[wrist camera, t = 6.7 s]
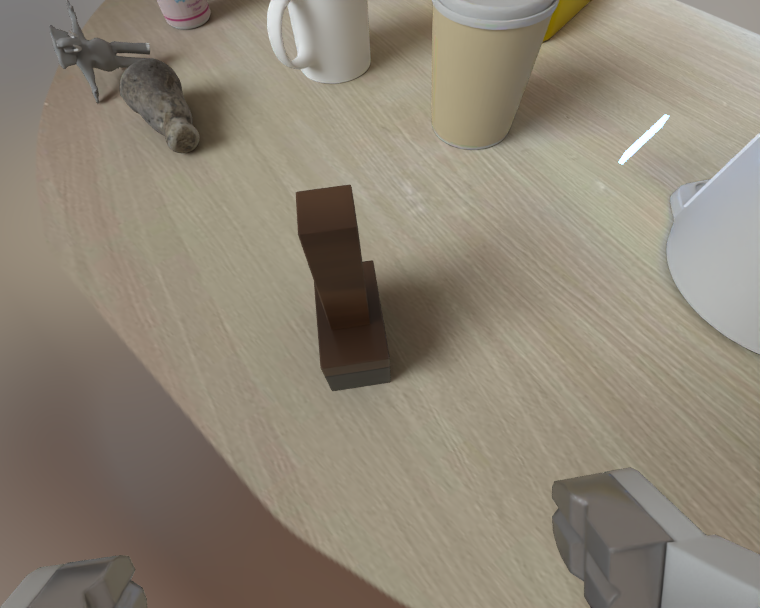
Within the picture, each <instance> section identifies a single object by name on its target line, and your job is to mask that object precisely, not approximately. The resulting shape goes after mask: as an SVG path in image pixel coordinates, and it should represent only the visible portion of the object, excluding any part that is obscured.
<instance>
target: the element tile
mask: <svg viewBox="0 0 760 608" xmlns="http://www.w3.org/2000/svg"><path fill="white" fill-rule="evenodd" d="M590 1H591V0H559V3H558V5H557V7H556V9H555V11H554V12H553V13H552V16H551V19H550V22H549V25H548V28H547V31H546V34H545V36H544V39H543V41H546V40H548V39H550V38H551V37H552V36H553V35H554V34H555V33H556V32H558V31H559V30H560V29H561V28H562V27H563V26H564V25H565V24H566V23H567V22H568V21H569V20H570V19H572V18H573V17H574V16H575V15H576V14H577V13H578V12H579V11H580V10H581V9H582V8H583V7H584V6H585V5H587V4H588V3H589V2H590Z"/></svg>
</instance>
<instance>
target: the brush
mask: <svg viewBox="0 0 760 608" xmlns="http://www.w3.org/2000/svg"><path fill="white" fill-rule="evenodd" d="M296 206H297V224H298V236H299V239H300V241H301V244H302V247H303V250H304V253H305V256H306V259H307V262H308V265H309V268H310V270H311V273H312V276H313V279H314V288H315V301H316V314H317V327H318V340H319V353H320V366H321V370H322V372H323V374H324V376H325V378H326V380H327V382H328V384H329V386H330V388H331V390H332V391H337V390H343V389H350V388H356V387H363V386H369V385H375V384H382V383H388V382H391V377H390V357H389V351H388V345H387V339H386V333H385V327H384V321H383V315H382V310H381V304H380V298H379V292H378V286H377V280H376V274H375V268H374V263H373V261H365V262H362V256H361V248H360V241H359V233H358V226H357V219H356V213H355V206H354V200H353V193H352V187H351V185H343V186H336V187H329V188H321V189H314V190H306V191H299V192H296Z"/></svg>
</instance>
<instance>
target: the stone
mask: <svg viewBox="0 0 760 608" xmlns="http://www.w3.org/2000/svg"><path fill="white" fill-rule="evenodd" d="M120 94H121V96H122V98H123V99H124V101H125V102H126V103H127V104H128V105H129V107H130V108H131V109H132V110H133V111H135V112H137V113H139V114H140V115H141V116H142V117H143V119H144V120H145V121H146V122H147V123H148V124H149V125H151V127H152V128H154V129H155V130H156V131H157V132H159V133H160V134H162V135H164V136H165V137H166V141H167V144H168V146H169V148H170V149H171V150H173V151H175V152H178V153H187V152H190V151H192V150H193V149H195V148H196V146H197V145H198V142H199V133H198V131H197V129H196V128H195V127H194V126H193V125H192V114H191V112H190V109H189V107H188V105H187V103H186V102H185V99H184V96H183V93H182V87H181V82H180V80H179V78H178V76H177V75H176V73H175V72H174V71H173V69H172V68H170V67H169V66H168V65H167V64H165V63H163V62H161V61H159V60H157V59H145V60H140V61H137V62H135V63H133V64H132V65H130V66H129V67H128V68H127V69H126V70H125V72H124V73H123V74H122V76H121V80H120Z"/></svg>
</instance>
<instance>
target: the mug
mask: <svg viewBox="0 0 760 608" xmlns="http://www.w3.org/2000/svg"><path fill="white" fill-rule="evenodd" d="M287 5H288V10H289V15H290V19H291V24H292V29H293V33H294V38H295V43H296V48H297V52H298V55H297V57H296V58H295V59H294V60H292V61H291V60H290V59H289V57H288V55H287V53H286V50H285V47H284V43H283V37H282V18H283V14H284V11H285V8H286V7H287ZM267 27H268V35H269V39H270V43H271V46H272V49H273V51H274V53H275V55H276V57H277V58H278V59H279V60H280V62H282V63H283V64H284V65H286V66H288V67H290V68H293V69H297V70H300V69H301V70H302V72H303V73H304V75H305V76H307V77H308V78H310V79H312V80H314V81H317V82H321V83H331V84H332V83H342V82H347V81H350V80H353V79H355V78H357V77H359V76H361V75H362V74H363V73H365V72H366V71H367V69H368V68H369V66H370V63H371V57H370V39H369V21H368V4H367V0H271V2H270V4H269V8H268V14H267Z"/></svg>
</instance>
